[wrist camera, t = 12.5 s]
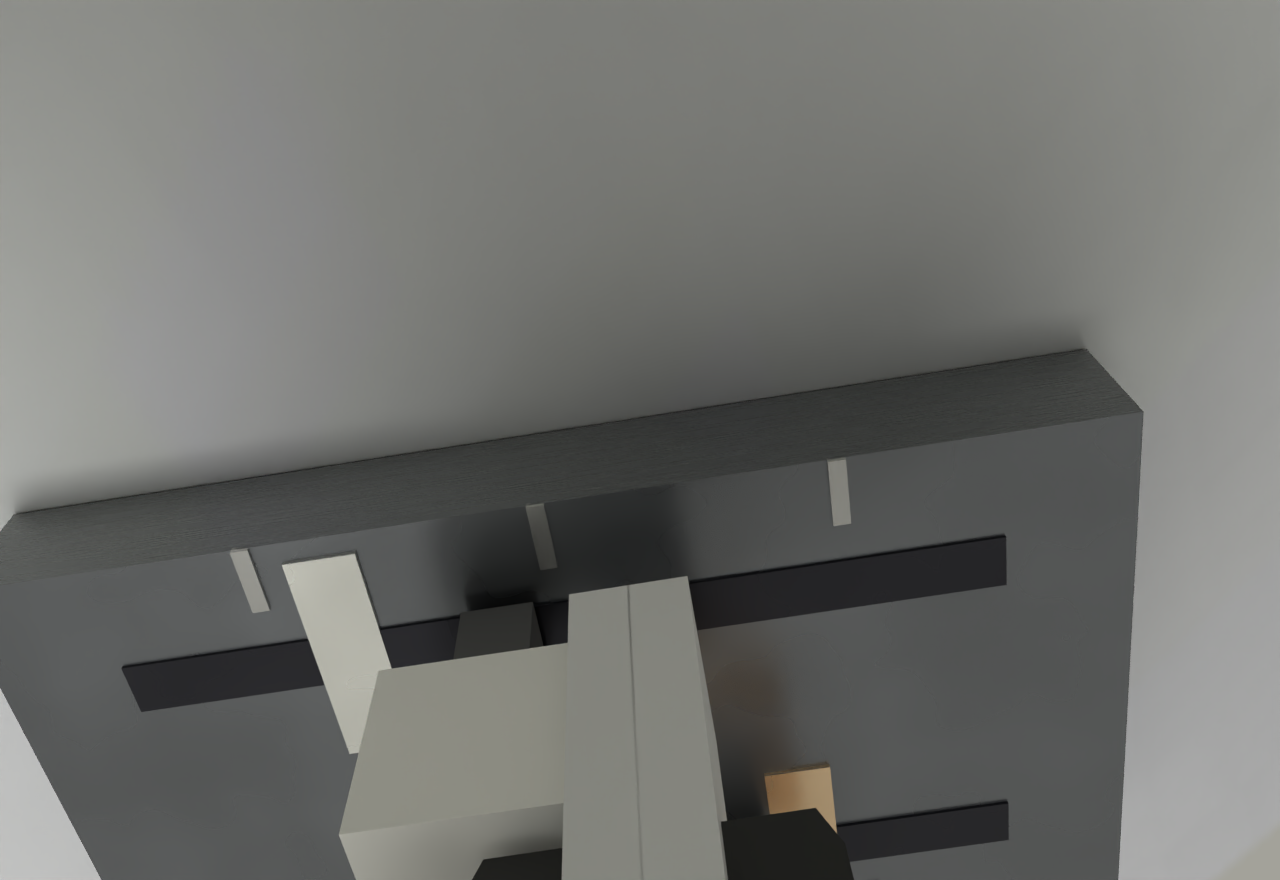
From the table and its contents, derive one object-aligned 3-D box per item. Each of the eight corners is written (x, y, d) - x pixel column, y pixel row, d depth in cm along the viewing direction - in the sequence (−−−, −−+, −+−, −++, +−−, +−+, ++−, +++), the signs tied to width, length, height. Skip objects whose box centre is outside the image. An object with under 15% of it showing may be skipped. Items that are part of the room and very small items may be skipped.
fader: (440, 719, 17) (396, 987, 13) (399, 584, 16) (339, 834, 12) (605, 695, 17) (610, 958, 13) (575, 558, 16) (570, 802, 12)
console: (208, 922, 22) (173, 1023, 20) (13, 514, 18) (-53, 596, 16) (1074, 801, 21) (1119, 895, 20) (1086, 349, 17) (1145, 414, 15)
